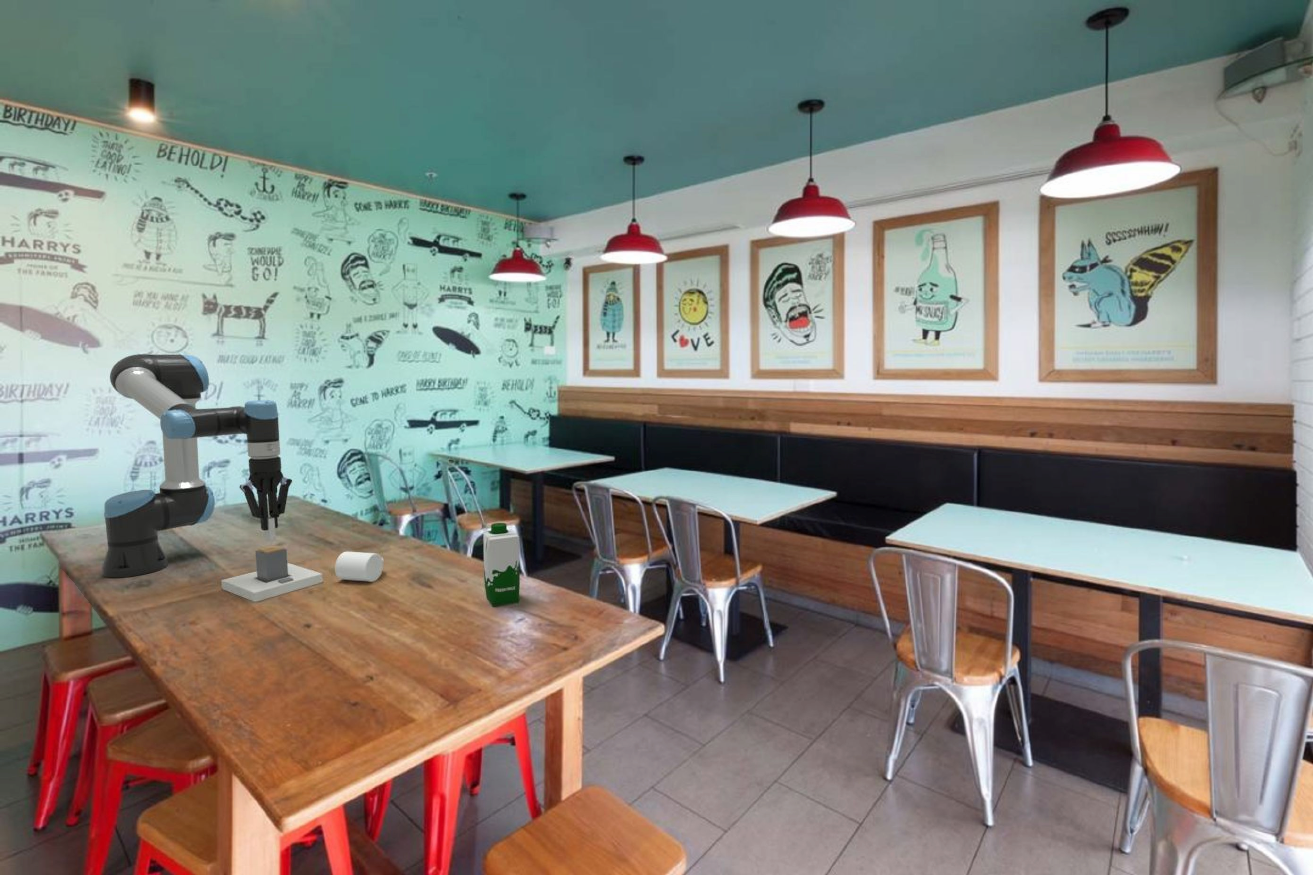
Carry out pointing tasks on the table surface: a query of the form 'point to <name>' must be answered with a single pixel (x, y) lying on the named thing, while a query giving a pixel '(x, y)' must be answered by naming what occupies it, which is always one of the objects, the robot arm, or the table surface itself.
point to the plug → (271, 563)
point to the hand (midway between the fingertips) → (270, 540)
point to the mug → (359, 566)
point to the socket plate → (271, 583)
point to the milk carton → (501, 565)
